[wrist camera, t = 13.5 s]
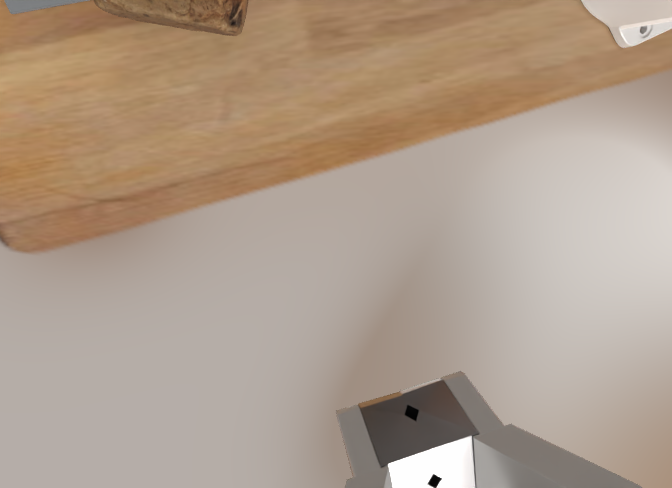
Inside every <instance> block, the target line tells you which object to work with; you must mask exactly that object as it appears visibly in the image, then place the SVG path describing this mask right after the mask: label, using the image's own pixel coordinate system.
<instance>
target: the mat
mask: <svg viewBox="0 0 672 488" xmlns="http://www.w3.org/2000/svg"><path fill="white" fill-rule="evenodd" d="M83 1H88V0H5V3H6V5H7V7H8V9H9V11H10V13H11V14H17V13H22V12H28V11H33V10H39V9H44V8H50V7H55V6H61V5H66V4H72V3H77V2H83Z"/></svg>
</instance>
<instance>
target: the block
mask: <svg viewBox="0 0 672 488" xmlns="http://www.w3.org/2000/svg"><path fill="white" fill-rule="evenodd" d="M94 2H95V4H96V5H97V6H98V7H99V8H101V9H102V10H103V11H106V12H108V13H111V14H114V15H118V16H119V17H125V18H129V19H133V20H137V21H142V22H147V23H153V24H159V25H165V26H172V27H177V28H183V29H188V30H193V31H205V32H211V33H217V34H222V35H229V36H237V35H239V34H241V32H242V29H243V26H244V22H245V18H246V12H247V6H248V0H94Z"/></svg>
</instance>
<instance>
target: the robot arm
mask: <svg viewBox="0 0 672 488" xmlns="http://www.w3.org/2000/svg"><path fill="white" fill-rule="evenodd" d="M581 1H582V3H583V4H584V6H585V7H586V8H587V10H588V11H589V12H590V13H591V14H592V15H593V16H595V17H596V18H598V19H599V20H601V21H602V22H604V23H605V24H606V25H607V26H608V27H609V28H610V31H611V33H612V35H613V37H614V39H615V41H616V42H617V44H618V45H619V46H620V47H622V48H626V47H631V46H635V45H637V44H640V43H642V42H644V41H646V40H648V39H650V38H652V37H655V36H657V35H659V34H661V33H663V32H665V31H668V30H670V29H672V0H581ZM640 28H641V31H640ZM336 414H337V419H338V422H339V426H340V430H341V434H342V438H343V441H344V445H345V449H346V453H347V457H348V460H349V464H350V468H351V472H352V476H353V478H350V479H348V480H347V482H346V485H345V488H642V487H641V486H639V485H638V484H635V483H633V482H631V481H629V480H627V479H625V478H623V477H621V476H619V475H617V474H615V473H612V472H610V471H608V470H606V469H604V468H602V467H600V466H598V465H596V464H594V463H592V462H590V461H588V460H585V459H583V458H581V457H579V456H577V455H575V454H573V453H571V452H569V451H567V450H565V449H562V448H560V447H558V446H556V445H554V444H552V443H550V442H548V441H546V440H544V439H542V438H540V437H537V436H535V435H533V434H531V433H529V432H527V431H525V430H523V429H521V428H519V427H517V426H515V425H512V424H509V425H505V426H504V425H503V423H502V422H501V421H500V419H499V418H498V417H497V415H496V414H495V413H494V411H493V410H492V409H491V407H490V406H489V405H488V403H487V402H486V401H485V400H484V398H483V397H482V396H481V395H480V393H479V392H478V390H477V389H476V388H475V387H474V385H473V384H472V382H471V381H470V380H469V379H468V377H467V376H466V375H465V373H463V372H461V371H459V372H456V373H453V374H450V375H448V376H444V377H441V378H440V379H439V378H438V379H435V380H432V381H429V382H426V383H423V384H420V385H417V386H414V387H411V388H408V389H405V390H402V391H399V392H397V393H393V394H390V395H387V396H383V397H380V398H376V399H373V400H370V401H366V402H362V403H359V404H358V405H354V406H350V407H347V408H343V409H340V410H336Z"/></svg>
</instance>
